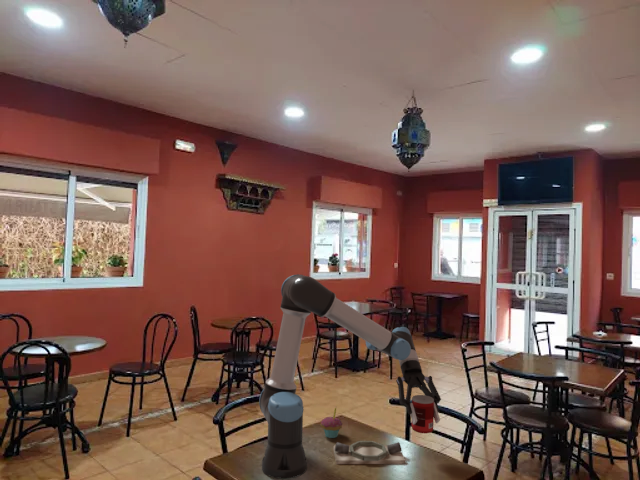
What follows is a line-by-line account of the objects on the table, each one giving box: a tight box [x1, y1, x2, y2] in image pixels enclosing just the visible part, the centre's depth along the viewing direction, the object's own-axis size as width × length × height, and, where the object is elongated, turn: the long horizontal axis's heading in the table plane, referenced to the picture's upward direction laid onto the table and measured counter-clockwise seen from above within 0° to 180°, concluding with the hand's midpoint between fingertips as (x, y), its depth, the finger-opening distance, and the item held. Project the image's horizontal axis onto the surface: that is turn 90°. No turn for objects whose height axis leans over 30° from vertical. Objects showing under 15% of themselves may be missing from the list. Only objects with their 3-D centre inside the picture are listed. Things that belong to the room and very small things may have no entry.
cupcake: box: [320, 407, 343, 439], centre depth 176 cm, size 9×8×12 cm
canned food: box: [411, 394, 435, 434], centre depth 159 cm, size 8×8×11 cm
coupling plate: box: [333, 440, 406, 465], centre depth 159 cm, size 24×13×5 cm, turn 93°
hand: (426, 422), depth 155 cm, fingers closed on canned food, 8 cm apart
